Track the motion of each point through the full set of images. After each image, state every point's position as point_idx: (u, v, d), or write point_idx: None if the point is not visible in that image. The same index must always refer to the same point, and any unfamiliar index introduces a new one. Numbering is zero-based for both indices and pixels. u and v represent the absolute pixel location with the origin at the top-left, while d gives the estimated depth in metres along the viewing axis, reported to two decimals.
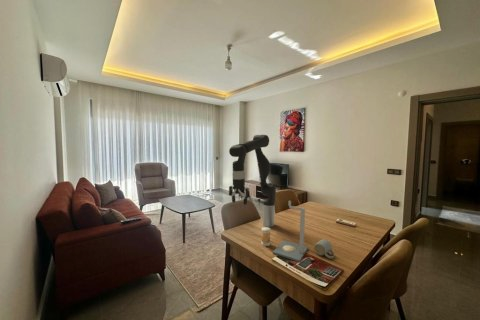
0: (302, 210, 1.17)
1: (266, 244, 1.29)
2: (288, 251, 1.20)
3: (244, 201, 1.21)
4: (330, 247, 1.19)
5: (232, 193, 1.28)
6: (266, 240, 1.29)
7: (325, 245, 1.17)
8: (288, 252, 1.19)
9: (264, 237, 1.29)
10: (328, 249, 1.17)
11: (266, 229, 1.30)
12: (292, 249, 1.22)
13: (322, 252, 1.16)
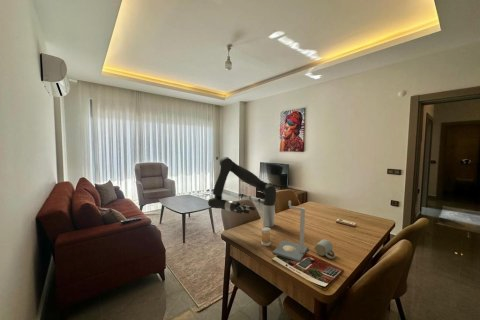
0: (302, 210, 1.17)
1: (266, 244, 1.29)
2: (288, 251, 1.20)
3: None
4: (331, 247, 1.18)
5: (249, 205, 1.44)
6: (266, 240, 1.29)
7: (326, 245, 1.17)
8: (288, 252, 1.19)
9: (264, 237, 1.29)
10: (329, 249, 1.17)
11: (266, 229, 1.30)
12: (292, 249, 1.22)
13: (323, 252, 1.16)
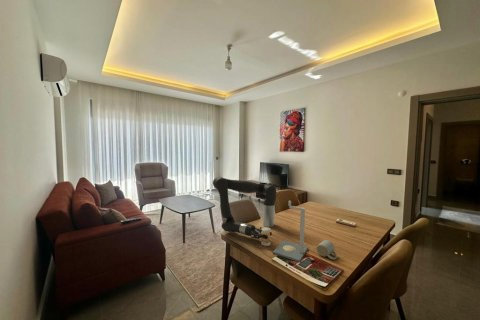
0: (302, 210, 1.17)
1: (266, 244, 1.29)
2: (288, 251, 1.20)
3: None
4: (332, 248, 1.17)
5: None
6: (266, 240, 1.29)
7: (328, 246, 1.16)
8: (288, 252, 1.19)
9: None
10: (330, 250, 1.16)
11: (266, 229, 1.30)
12: (292, 249, 1.22)
13: (324, 253, 1.15)
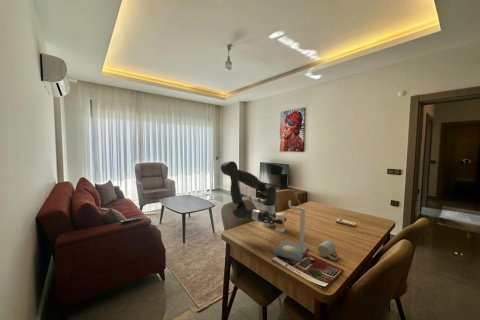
0: (302, 210, 1.17)
1: (281, 230, 1.23)
2: (288, 251, 1.20)
3: (278, 223, 1.22)
4: (334, 248, 1.17)
5: None
6: (281, 226, 1.22)
7: (329, 246, 1.16)
8: (288, 252, 1.19)
9: None
10: (332, 250, 1.16)
11: (281, 214, 1.24)
12: (292, 249, 1.22)
13: (325, 253, 1.14)
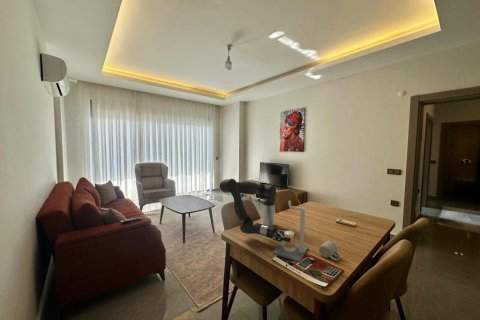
0: (302, 210, 1.17)
1: (290, 249, 1.20)
2: (288, 251, 1.20)
3: None
4: (335, 249, 1.16)
5: (287, 230, 1.29)
6: (290, 245, 1.20)
7: (330, 247, 1.15)
8: (288, 252, 1.19)
9: (288, 242, 1.20)
10: (333, 251, 1.15)
11: (290, 233, 1.21)
12: None
13: (327, 254, 1.14)
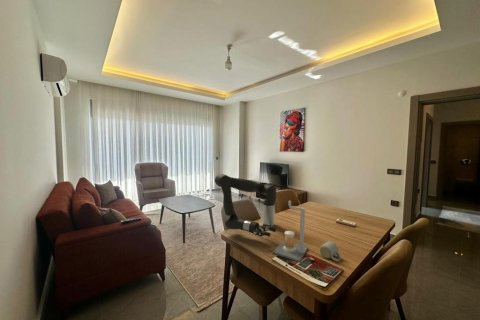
0: (302, 210, 1.17)
1: (290, 249, 1.20)
2: (288, 251, 1.20)
3: None
4: (336, 249, 1.16)
5: None
6: (290, 245, 1.20)
7: (331, 247, 1.15)
8: (288, 252, 1.19)
9: (288, 242, 1.20)
10: (334, 252, 1.14)
11: (290, 233, 1.21)
12: None
13: (328, 255, 1.13)
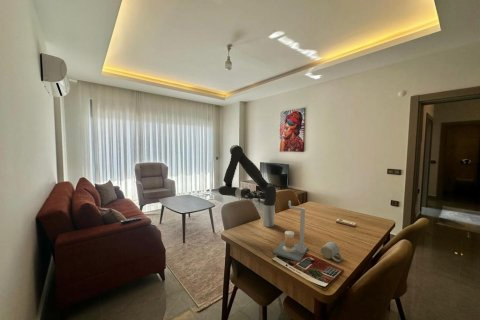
0: (302, 210, 1.17)
1: (290, 249, 1.20)
2: (288, 251, 1.20)
3: (257, 198, 1.34)
4: (337, 250, 1.15)
5: (260, 192, 1.45)
6: (290, 245, 1.20)
7: (332, 247, 1.14)
8: (288, 252, 1.19)
9: (288, 242, 1.20)
10: (335, 252, 1.14)
11: (290, 233, 1.21)
12: None
13: (329, 255, 1.13)
